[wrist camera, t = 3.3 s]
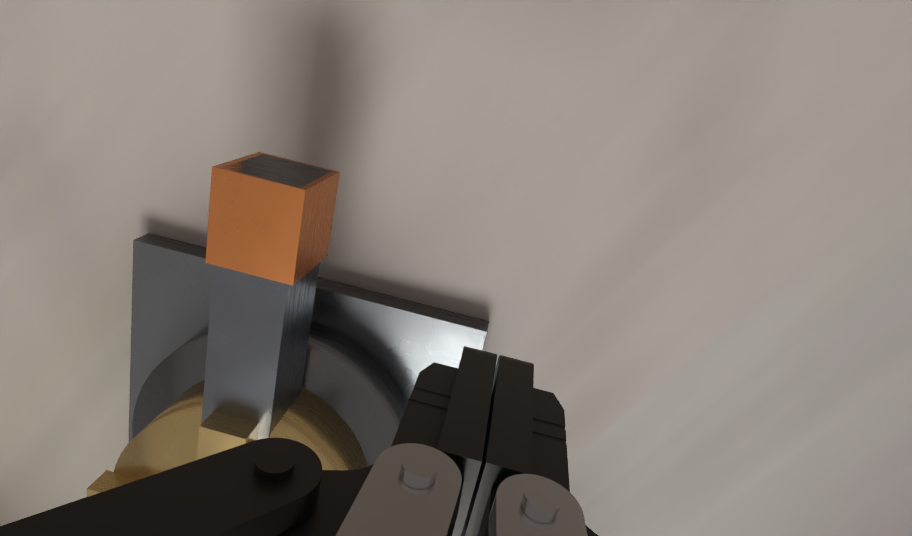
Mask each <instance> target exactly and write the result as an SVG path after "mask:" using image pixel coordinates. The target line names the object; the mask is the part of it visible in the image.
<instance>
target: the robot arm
mask: <svg viewBox="0 0 912 536" xmlns="http://www.w3.org/2000/svg"><path fill="white" fill-rule="evenodd" d="M496 360H497V354H493V353H489V352H486V351H482V350H478V349H474V348H470V347H466V346H464V348H463V352H462V356H461V360H460V363H459V367H458V368H454V367H450V366H447V365H443V364H439V363H435V362H434V363H432V364H431V365H429V366H428V367H426V368H425V369H423V370H422V371H421V372H419V375H418V377H417V380H416V383H415V385H414V388H413V390H412V393H411V396H410V398H409V402H408V403H407V406H406V409H405V411H404V414H403V417H402V419H401V422H400V424H399V427H398V430H397V432H396V435H395V437H394V440H393V443H392V445H391V447H390V448H388V449H386V450H384V451H383V452H382V453H381V454H380V455H379V457H378V458H377V460H376V461H375V463H374V464H373V465H370V466H368V467H365V468H361V469H355V470H322V464H321V461H320V459H319V457H318V456H317V454H316V453H315V452H314V451H313V450H312V449H311V448H309V447H308V446H306V445H304V444H302V443H300V442H298V441H294V440H291V439H286V438H264V439H259V440H255V441H251V442H248V443H246V444H243V445H240V446H237V447H234V448H231V449H228V450H225V451H222V452H219V453H216V454H213V455H210V456H207V457H204V458H201V459H198V460H195V461H192V462H189V463H186V464H183V465H181V466H178V467H175V468H172V469H169V470H166V471H163V472H160V473H157V474H154V475H151V476H148V477H145V478H142V479H139V480H136V481H133V482H130V483H127V484H124V485H121V486H118V487H116V488H113V489H110V490H107V491H104V492H101V493H98V494H95V495H92V496H89V497H86V498H83V499H80V500H77V501H74V502H71V503H68V504H65V505H62V506H59V507H56V508H53V509H51V510H48V511H45V512H42V513H39V514H36V515H33V516H30V517H27V518H24V519H21V520H18V521H15V522H12V523H9V524H6V525H3V526H0V536H598V535H597V534H595V533H594V532H593V531H592V530H591V529H589V528H588V527H587V526H586V525H585V520H584V515H583V511H582V508H581V506H580V504H579V503H578V501H577V500H576V499H575V497H574V496H573V495H572V494H571V493H570V489H569V474H568V460H567V445H566V430H565V416H564V409H563V407H562V406H561V404H560V403H559V401H558V400H557V398H556V397H555V395H554V394H553V393H551V392H547V391H543V390H539V389H535V388H533V375H534V365H533V364H532V363H529V362H525V361H521V360H517V359H513V358H509V357H505V356H501V355H500V356H499V358H498V361H497V365H496ZM495 367H496V368H495Z"/></svg>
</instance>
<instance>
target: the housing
mask: <svg viewBox="0 0 912 536" xmlns="http://www.w3.org/2000/svg"><path fill="white" fill-rule="evenodd" d="M205 262H206V248H203V247H199V246H195V245H191V244H187V243H184V242H180V241H176V240H172V239H168V238H164V237H160V236H157V235H153V234H146V235H144V236H142V237H139V238H137V239H135V240H134V242H133V284H132V326H131V368H130V410H129V442H130V441H131V440H132V439H133V438H134V437H135V436H136V435H138V434H139V433H140V432H141V431H142V430H143V429H144V428H145V427H146V426H147V425H149V424H150V423H151V422H152V421H153V420H154V419H155V418H156V417H157V416H158V415H159V414H161V413H162V412H163V411H164V410H165V409H166V408H167V407H168V406H169V405H170V404H172V403H173V402H174V401H175V400H176V399H177V398H178V397H179V396H180V395H181V394H182V393H184V392H185V391H186V390H187V389H189V388H190V387H192V386H193V385H194V384H196V383H198V382H200V381H202V380H204V379H205V367H206V354H207V341H208V328H209V314H210V301H211V288H212V275H213V265H212V264H208V263H205ZM488 324H489V322H488V321H484V320H480V319H477V318H473V317H469V316H465V315H461V314H457V313H453V312H450V311H446V310H442V309H438V308H434V307H430V306H426V305H423V304H419V303H415V302H411V301H407V300H403V299H399V298H396V297H392V296H388V295H384V294H380V293H376V292H372V291H369V290H365V289H361V288H357V287H353V286H349V285H345V284H342V283H338V282H334V281H330V280H326V279H322V278H319V277H318V278H317V285H316V292H315V299H314V305H313V312H312V319H311V326H310V333H309V340H308V347H307V354H306V361H305V368H304V375H303V382H302V387H303V388H305V389H307V390H308V391H310V392H312V393H313V394H315V395H317V396H318V397H319V398H321V399H322V400H323V401H325V402H326V403H327V404H328V405H330V406H331V407H332V408H333V409H334V410H335V411H336V412H337V413H338V414H339V415H340V416H341V417H342V419H343V420H344V421H345V422H346V423H347V424H348V426H349V427H350V429H351V430H352V432H353V433H354V435H355V436H356V438H357V440H358V442H359V444H360V446H361V448H362V450H363V453H364V456H365V459H366V462H367V466H370V465H373V464H374V463H375V461H376V460H377V458H378V457H379V455H380V454H381V453H382V452H383V451H384V450H386V449H388V448H390V447H391V445H392V443H393V440H394V437H395V435H396V432H397V430H398V427H399V424H400V422H401V419H402V417H403V414H404V411H405V409H406V406H407V403H408V402H409V398H410V396H411V393H412V390H413V388H414V385H415V383H416V380H417V377H418V375H419V372H421V371H422V370H423V369H425V368H426V367H428V366H429V365H431V364H432V363H434V362H435V363H439V364H443V365H447V366H450V367H454V368H458V367H459V363H460V360H461V356H462V352H463V348H464V346H466V347H470V348H474V349H478V350H482V349H483V345H484V341H485V337H486V333H487V329H488Z"/></svg>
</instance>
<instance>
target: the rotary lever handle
mask: <svg viewBox="0 0 912 536" xmlns="http://www.w3.org/2000/svg"><path fill="white" fill-rule="evenodd" d="M339 173H340V172H337V171H333V170H329V169H325V168H321V167H317V166H313V165H309V164H305V163H301V162H297V161H293V160H289V159H285V158H281V157H277V156H273V155H269V154H265V153H261V152H258V153H255V154H252V155H249V156H245V157H242V158H239V159H236V160H232V161H229V162H226V163H223V164H220V165H216V166H213V167H212V177H211V191H210V205H209V219H208V233H207V248H206V262H205V263H208V264H212V265H213V275H212V288H211V301H210V314H209V328H208V341H207V354H206V367H205V379H204V380H202V381H200V382H198V383H196V384H194V385H193V386H192V387H190V388H189V389H187V390H186V391H185V392H184V393H182V394H181V395H180V396H179V397H178V398H177V399H176V400H175V401H174V402H173V403H172V404H170V405H169V406H168V407H167V408H166V409H165V410H164V411H163V412H162V413H161V414H159V415H158V416H157V417H156V418H155V419H154V420H153V421H152V422H151V423H150V424H149V425H147V426H146V427H145V428H144V429H143V430H142V431H141V432H140V433H139V434H138V435H136V436H135V437H134V438H133V439H132V440H131V441H130V442H129V443H128V445H127V446H126V447H125V449H124V450H123V452H122V453H121V455H120V457H119V459H118V461H117V463H116V466H115V470H114V472H111V471H108V470H106V471H105V472H104V473H103V474H102V475H101V476H100V477H99V478H98V479H97V480H96V481H95V482H93V483H92V484H91V485H90V486H89V487H88V488H87V497H89V496H92V495H95V494H98V493H101V492H104V491H107V490H110V489H113V488H116V487H118V486H121V485H124V484H127V483H130V482H133V481H136V480H139V479H142V478H145V477H148V476H151V475H154V474H157V473H160V472H163V471H166V470H169V469H172V468H175V467H178V466H181V465H183V464H186V463H189V462H192V461H195V460H198V459H201V458H204V457H207V456H210V455H213V454H216V453H219V452H222V451H225V450H228V449H231V448H234V447H237V446H240V445H243V444H246V443H248V442H251V441H255V440H259V439H264V438H286V439H291V440H294V441H298V442H300V443H302V444H304V445H306V446H308V447H309V448H311V449H312V450H313V451H314V452H315V453H316V454H317V456H318V457H319V459H320V461H321V464H322V470H355V469H361V468H365V467H368V466H367V462H366V459H365V456H364V453H363V450H362V448H361V446H360V444H359V442H358V440H357V438H356V436H355V435H354V433H353V432H352V430H351V429H350V427H349V426H348V424H347V423H346V422H345V421H344V420H343V419H342V417H341V416H340V415H339V414H338V413H337V412H336V411H335V410H334V409H333V408H332V407H331V406H330V405H328V404H327V403H326V402H325V401H323V400H322V399H321V398H319V397H318V396H317V395H315V394H313V393H312V392H310V391H308V390H307V389H305V388H303V387H302V382H303V375H304V368H305V361H306V354H307V347H308V340H309V333H310V326H311V319H312V312H313V305H314V299H315V292H316V285H317V278H318V271H319V264H320V261H322V260H323V259H324V258H325V257H326V256H327V254H328V247H329V240H330V234H331V227H332V220H333V213H334V206H335V200H336V193H337V186H338V179H339Z"/></svg>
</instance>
